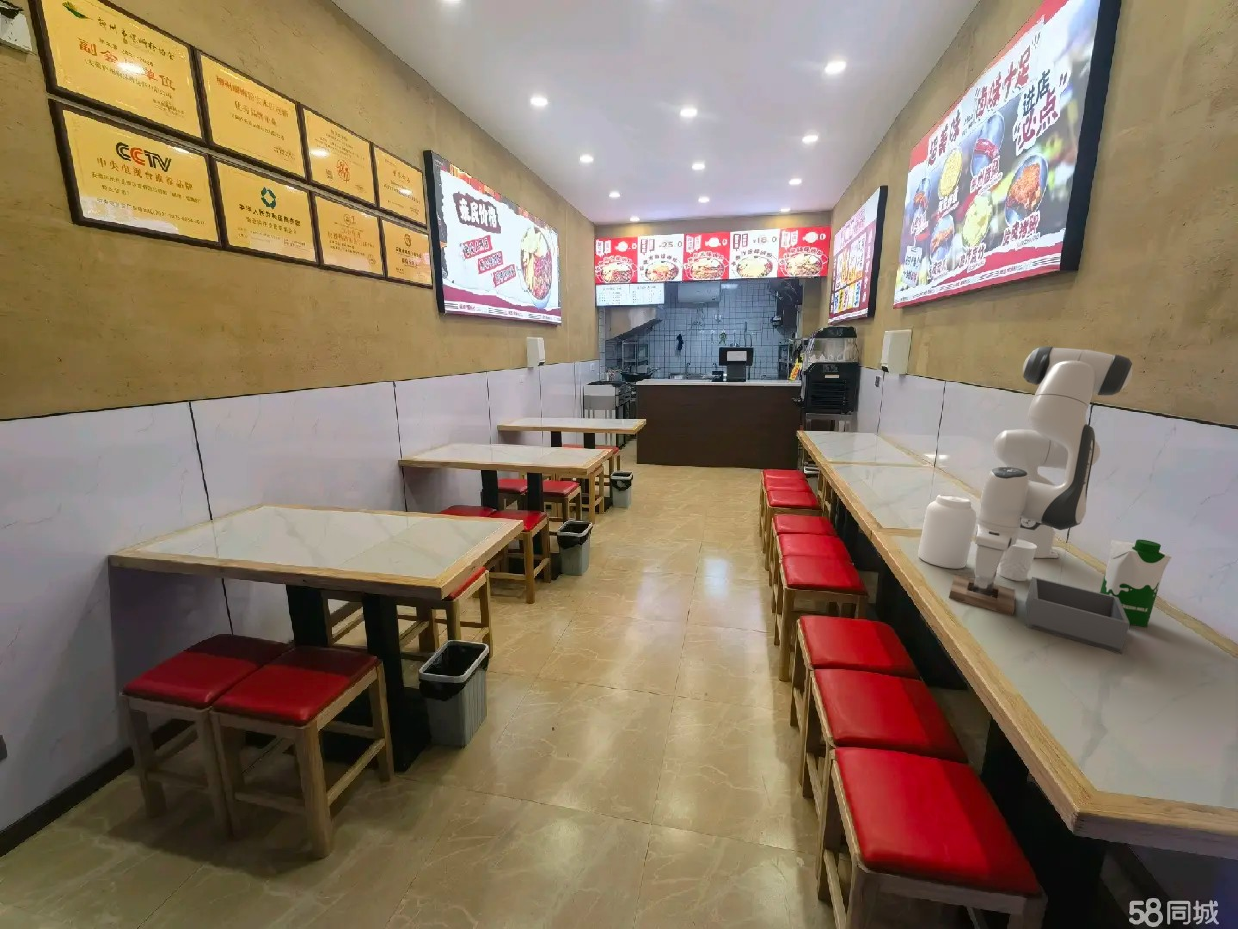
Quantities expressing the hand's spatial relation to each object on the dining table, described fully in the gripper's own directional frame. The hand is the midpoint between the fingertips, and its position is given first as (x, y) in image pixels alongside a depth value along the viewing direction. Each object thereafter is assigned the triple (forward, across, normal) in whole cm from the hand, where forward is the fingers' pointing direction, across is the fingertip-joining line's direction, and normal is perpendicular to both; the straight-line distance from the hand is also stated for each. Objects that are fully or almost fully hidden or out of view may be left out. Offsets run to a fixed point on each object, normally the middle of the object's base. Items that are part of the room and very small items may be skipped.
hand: (983, 583), depth 130 cm
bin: (+4, +2, +17) cm, 18 cm away
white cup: (+4, -23, +5) cm, 24 cm away
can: (+4, -20, -12) cm, 24 cm away
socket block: (+4, 0, 0) cm, 4 cm away
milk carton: (+4, -13, +27) cm, 30 cm away
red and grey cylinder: (+4, 0, 0) cm, 4 cm away
